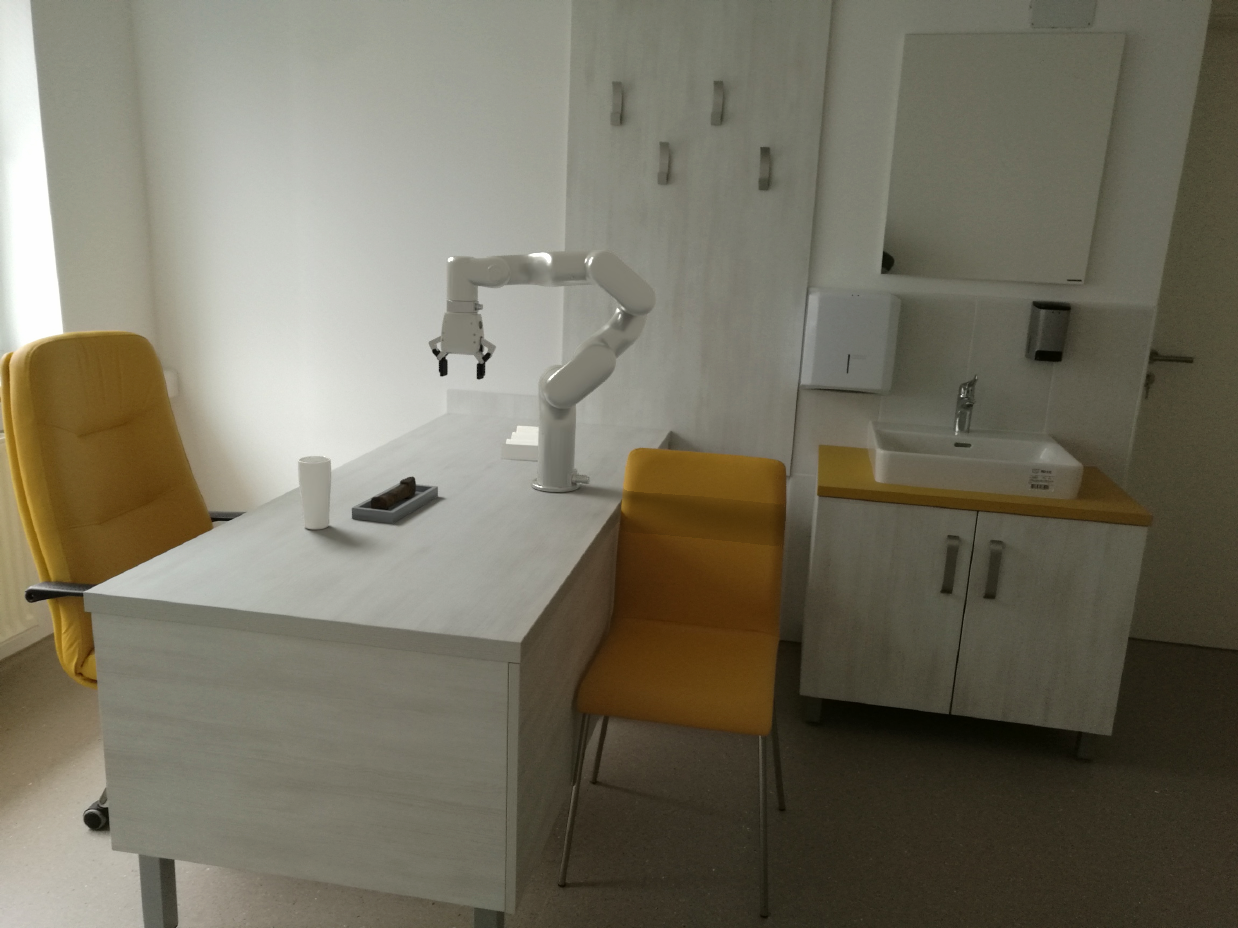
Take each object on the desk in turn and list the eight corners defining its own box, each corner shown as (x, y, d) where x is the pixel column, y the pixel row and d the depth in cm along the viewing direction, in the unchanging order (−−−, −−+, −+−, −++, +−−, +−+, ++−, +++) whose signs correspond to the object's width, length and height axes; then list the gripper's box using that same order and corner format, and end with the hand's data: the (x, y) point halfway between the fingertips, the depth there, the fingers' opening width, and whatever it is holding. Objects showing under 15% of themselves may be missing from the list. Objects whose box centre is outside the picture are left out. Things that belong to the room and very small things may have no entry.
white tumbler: (303, 532, 198) (300, 464, 195) (297, 523, 204) (295, 457, 201) (335, 529, 201) (333, 461, 198) (329, 520, 207) (327, 454, 204)
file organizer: (559, 438, 305) (559, 423, 304) (546, 463, 271) (546, 446, 270) (519, 436, 305) (519, 420, 304) (501, 461, 271) (501, 443, 270)
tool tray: (437, 496, 230) (437, 486, 230) (393, 523, 207) (392, 512, 207) (400, 492, 232) (400, 482, 232) (351, 518, 210) (351, 507, 209)
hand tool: (385, 514, 210) (385, 494, 209) (369, 512, 211) (369, 492, 210) (425, 494, 228) (425, 476, 227) (410, 492, 229) (410, 474, 228)
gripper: (501, 309, 230) (500, 378, 234) (435, 304, 234) (435, 373, 238) (490, 311, 223) (489, 382, 227) (422, 306, 227) (423, 376, 231)
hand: (461, 377), depth 233 cm, fingers open, 9 cm apart
